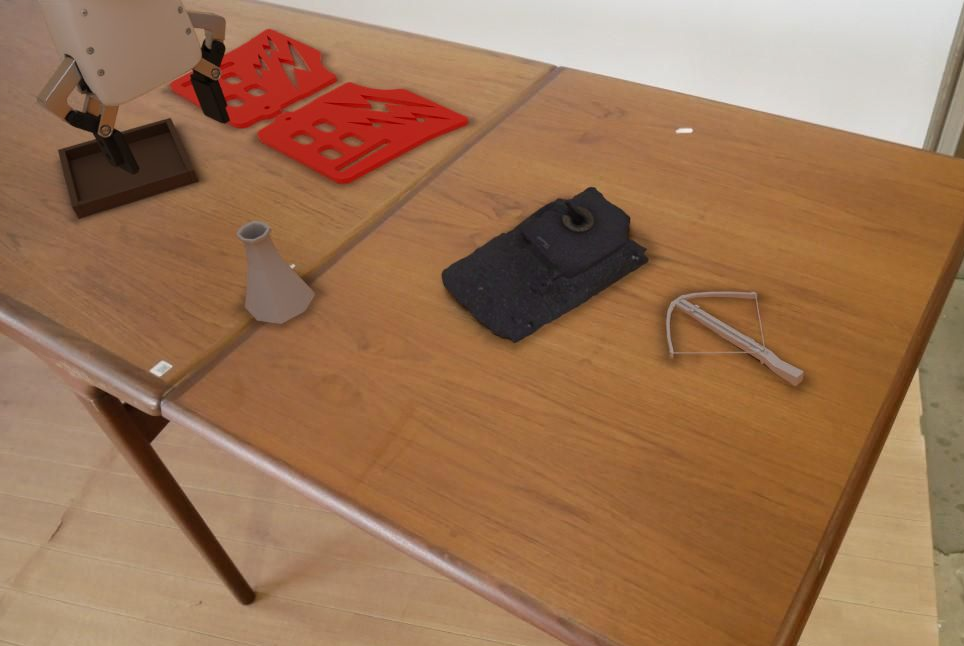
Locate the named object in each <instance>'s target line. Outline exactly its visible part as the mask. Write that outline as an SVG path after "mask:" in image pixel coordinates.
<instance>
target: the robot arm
mask: <svg viewBox="0 0 964 646" xmlns="http://www.w3.org/2000/svg"><path fill="white" fill-rule="evenodd" d="M37 1H38V5H39V7H40V10H41V13H42V17H43V19H44V22H45V25H46V28H47V31H48V33H49V36H50V39H51V41H52V43H53V46H54V48H55V51H56V53H57V55H58V57H59V60H60V64H59V66H58V68H56V70H55V71H54V73H53V74H52V76H51V77H50V78H49V79H48V81H47V82H46V84H45V85H44V87H43V88H42V89H41V90H40V92H39V94H38V95H37V97H36V102H37V104H38V105H39V106H41V107H42V108H43V109H45V110H47V112H49V113H51V114H52V115H53V116H55V117H57V118H58V119H60V120H61V121H62V122H64V123H65V124H68V125H69V126H71V127H74V128H76V129H78V130H82V131H85V132H88V133H91V134H92V135H93V137H94V139H96V141H97V142H98V144H99V146H100V148H101V150H102V152H103V154H104V156H105V158H106V160H107V161H108V162H109V163H110V164H111V165H112V166H114V167H119V168H121V169H123V170H125V171H127V172H128V173H130V174H132V175H135V174H136V173H138V172H139V170H140V168H139V166H138V164H137V162H136V160H135V158H134V156H133V154H132V152H131V150H130V148H129V145H128V143H127V141H126V139H125V137H124V135H123V134H122V131H121V130H119V129H117V128H115V124H116V120H117V116H118V112H119V107H120V106H122V105H125V104H127V103H129V102H132V101H134V100H135V99H137V98H139V97H142V96H144V95H146V94H148V93H150V92H151V91H153V90H156V89H158V88H160V87H161V86H164V85H165V84H168V83H169V82H172V81H174V80H176V79H178V78H180V77H182V76H184V75H186V74H188V73H189V72H191V71H193V74H191V75H190V77H191V79H190V81H191V83H192V86H193V88H194V91H195V93H196V96H197V98H198V101H199V103H200V106H201V108H200V109H201V111H202V113H203V115H204V116H205V117H207V118H210V119H212V120H214V121H216V122H218V123H220V124H224V125H226V124H228V123H227V122H229V121H230V118H229V115H228V113H227V110H226V107H227V104H228V101H227V102H226V100H225V97H224V94H223V92H222V89H221V86H220V83H219V81H218V79H220V77H221V75H222V72H221V69H220V65H221V62H222V59H223V57H224V55H225V54H226V49H227V47H226V45H225V40H226V29H227V20H226V18H225V17H224V16H222V15H219V14H216V13H215V12H208V11H201V10H200V11H199V10H192V9H186V8H185V5H184V3H183V1H182V0H37ZM195 29H202V30H204V37H205V38H204V39H203V41H202V43H201V44H200V41H199V37H198V36H197V32H196V30H195ZM74 90H76V92H78V93H79V94H81V95H85V98H84V103H83V107H82V111H80V110H78V109H76V108H75V109H74V108H73V107H72V106H71V105H69V103H68V98H69V97H70V95H71V93H73V91H74Z"/></svg>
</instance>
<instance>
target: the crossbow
mask: <svg viewBox="0 0 964 646" xmlns="http://www.w3.org/2000/svg"><path fill="white" fill-rule="evenodd" d="M715 297H716V298H738V299H747V300H755V302H756V308H757V316H758V320H759V327H760V334H761V339H762V345H761V343H758V342H757V341H756V340H755V339H753V338H752V337H750V336H748V335H745V334H743V333H742V332H740V331H738V330H737V329H736V328H733V327H732V326H730V325H729V324H726V323H725V322H723V321H721V320H719V319H718V318H716V317H714V316H713V315H711V314H710V313H708V312H707V311H705V310H703V309H701V308H700V307H701V306H700V305H698V304H693V303H691V302H690V301H688V300H691V299H697V298H715ZM675 308H678V309H680V310H681V311H682V312H684V313H685V314H687V315H689V316H690V317H692V318H693V319H694V320H696V321H697V322H699V323H700V324H702V325H703V326H705V327H706V328H708V329H709V330H710V331H712V332H713V333H715V334H717V335H718V336H720V337H721V338H723V339H724V340H726V341H727V342H729V343H731V344H733V345H734V346H736V347H738V348H739V349H741V351H691V352H688V351H685V352H681V351H679V352H676V351H674V347H673V343H672V339H671V338H672V337H671V315H672V313H673V311H674V309H675ZM666 312H667V313H666V320H665V326H666V342H667V346H668V351H669V358H670V359H672V360H674V358H675V354H749V355H750V356H752V357H754V358H755V359H757V360H758V361H760V362H759V363H760V364H761V365H765V366H767V367H768V369H770V370H771V371H772V372H773V373H775V374H776V375H778V376H779V377H780V378H782V379H783V380H784V381H787V382H788V383H789V384H791V385H792V386H793V387H797V386H798V385H800V384H801V382H804V381H803V380H804V374H805V371H803V369H800V368H798V367H797V366H794V365H792V364H790V363H788V362H786V361H784V360H782V359H780V358H779V356H777V355H776V354H775V353H774V352H773V351H772V350H770V349H769V348H767V347H766V346H765V341H764V335H763V329H762V328H763V327H762V322H761V317H760V311H759V303H758V292H755V291H750V292H746V291H703V292H701V291H700V292H692V293H691V292H690V293H687V294H682V295H679V297H677V298H675V299H673V301H672V300H671V302H670V304H669V306H668V309H667V311H666Z"/></svg>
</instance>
